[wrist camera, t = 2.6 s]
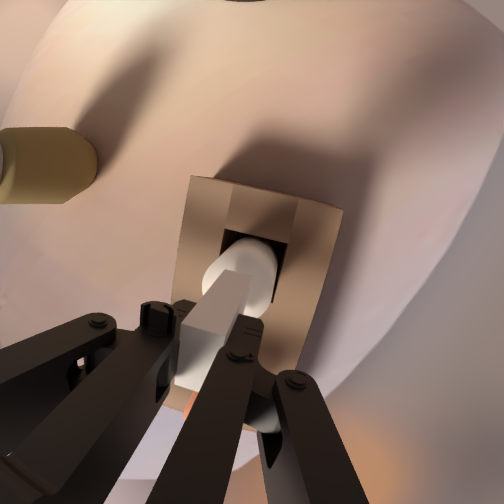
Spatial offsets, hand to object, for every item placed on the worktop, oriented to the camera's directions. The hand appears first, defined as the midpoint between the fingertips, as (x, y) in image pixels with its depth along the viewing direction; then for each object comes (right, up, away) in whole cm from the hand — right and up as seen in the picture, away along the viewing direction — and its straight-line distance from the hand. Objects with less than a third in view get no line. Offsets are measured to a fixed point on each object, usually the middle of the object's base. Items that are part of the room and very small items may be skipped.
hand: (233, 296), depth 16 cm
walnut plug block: (0, -3, +13) cm, 13 cm away
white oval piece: (+1, +2, +6) cm, 7 cm away
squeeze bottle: (-18, +12, +12) cm, 25 cm away
